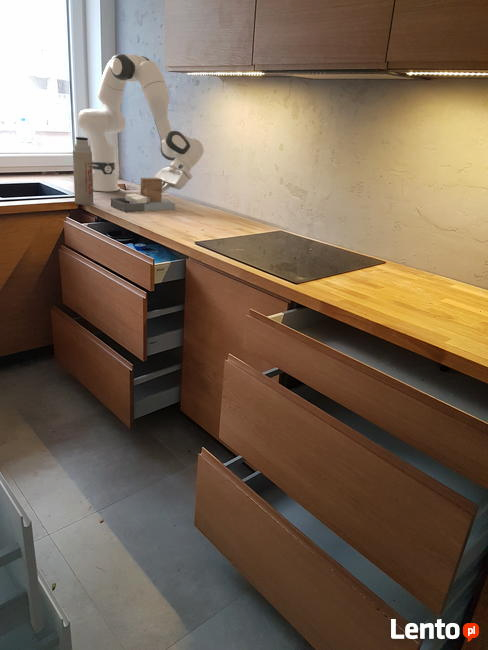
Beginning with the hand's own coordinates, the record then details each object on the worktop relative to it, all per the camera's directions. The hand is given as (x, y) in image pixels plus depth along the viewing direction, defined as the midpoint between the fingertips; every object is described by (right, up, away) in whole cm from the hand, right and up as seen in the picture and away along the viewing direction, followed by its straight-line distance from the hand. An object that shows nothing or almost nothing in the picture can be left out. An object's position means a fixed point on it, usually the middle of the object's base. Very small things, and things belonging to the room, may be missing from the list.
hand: (159, 191), depth 228 cm
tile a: (-11, -5, -4) cm, 13 cm away
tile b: (-8, -7, -8) cm, 13 cm away
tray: (-13, -10, -7) cm, 18 cm away
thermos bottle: (-33, -7, -5) cm, 34 cm away
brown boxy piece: (-4, -5, -1) cm, 6 cm away
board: (-3, -7, +1) cm, 8 cm away
